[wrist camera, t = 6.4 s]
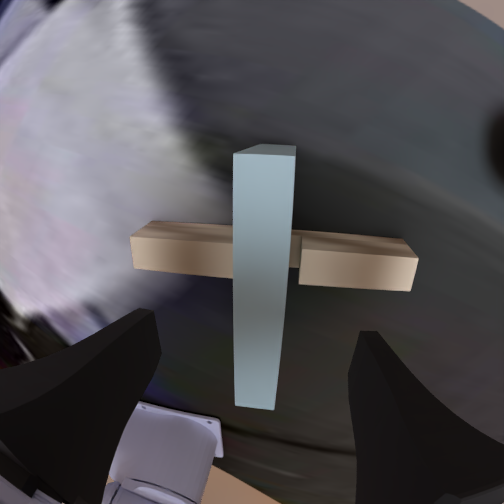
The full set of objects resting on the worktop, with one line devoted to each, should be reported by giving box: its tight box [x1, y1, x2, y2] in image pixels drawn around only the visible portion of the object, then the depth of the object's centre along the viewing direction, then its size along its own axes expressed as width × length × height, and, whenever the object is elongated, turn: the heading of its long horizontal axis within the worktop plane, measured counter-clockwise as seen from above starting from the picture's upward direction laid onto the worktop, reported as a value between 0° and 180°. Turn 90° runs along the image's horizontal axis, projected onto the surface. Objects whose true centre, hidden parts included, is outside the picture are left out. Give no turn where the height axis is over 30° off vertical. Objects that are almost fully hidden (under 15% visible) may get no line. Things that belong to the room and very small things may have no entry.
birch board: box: [130, 221, 419, 291], centre depth 17 cm, size 16×2×3 cm, turn 89°
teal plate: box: [233, 144, 296, 410], centre depth 15 cm, size 2×12×8 cm, turn 178°
